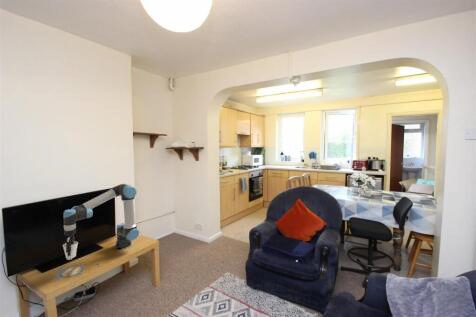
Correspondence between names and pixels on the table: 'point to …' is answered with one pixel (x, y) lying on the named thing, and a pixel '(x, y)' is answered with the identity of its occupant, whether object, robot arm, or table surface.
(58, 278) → the placemat
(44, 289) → the table surface
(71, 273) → the coaster
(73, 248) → the cup
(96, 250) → the table surface
